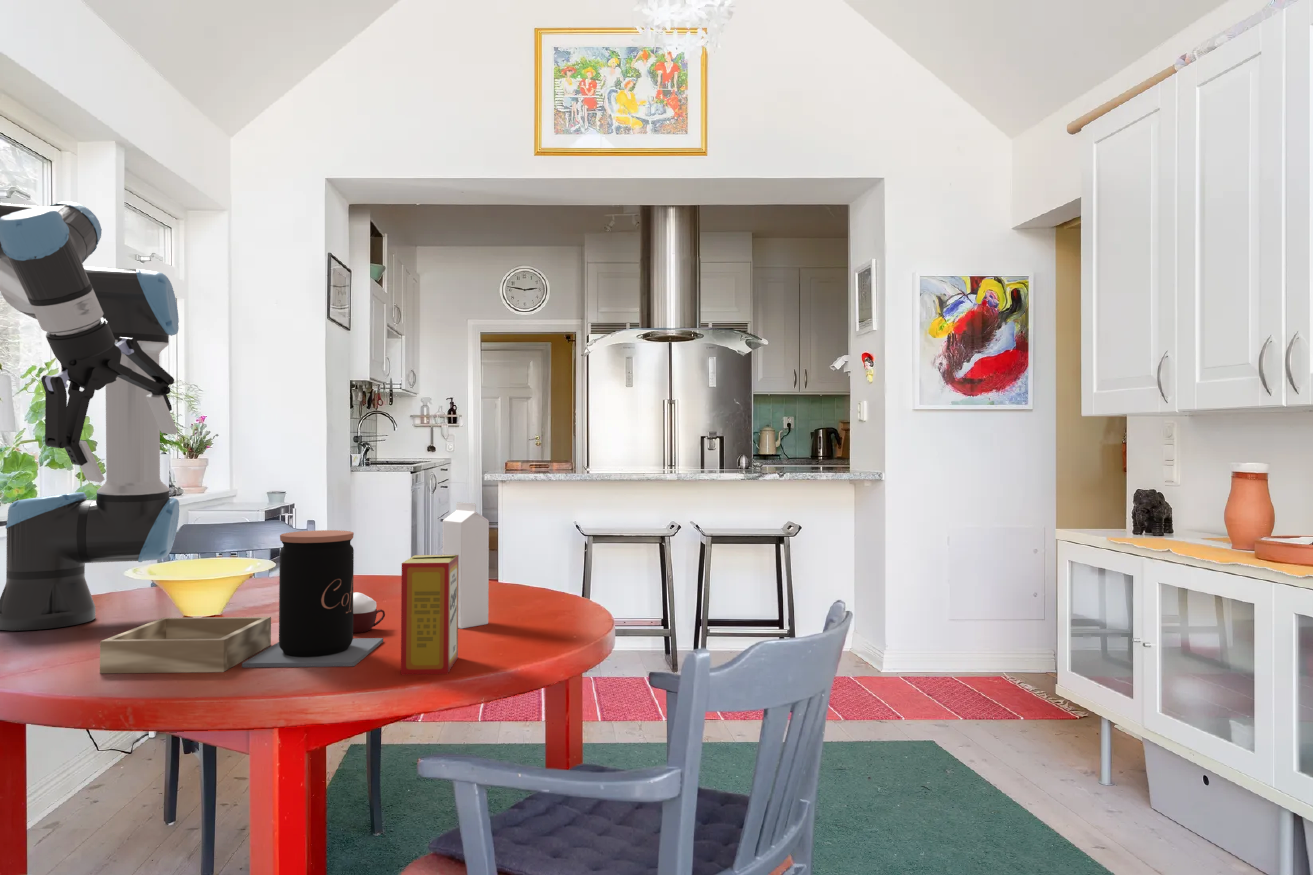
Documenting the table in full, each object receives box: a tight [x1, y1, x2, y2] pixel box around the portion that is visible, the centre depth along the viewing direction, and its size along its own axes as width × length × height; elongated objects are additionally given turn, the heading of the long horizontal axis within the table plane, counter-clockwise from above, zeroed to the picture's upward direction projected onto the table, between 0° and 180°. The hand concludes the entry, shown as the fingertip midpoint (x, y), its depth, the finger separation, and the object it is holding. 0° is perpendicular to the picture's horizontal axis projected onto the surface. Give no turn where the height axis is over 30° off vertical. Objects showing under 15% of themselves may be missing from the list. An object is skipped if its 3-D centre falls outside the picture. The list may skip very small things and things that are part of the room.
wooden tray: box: [99, 616, 272, 674], centre depth 130 cm, size 17×17×4 cm
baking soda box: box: [400, 554, 459, 676], centre depth 126 cm, size 10×6×16 cm
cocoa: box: [353, 592, 386, 634], centre depth 150 cm, size 10×6×12 cm, turn 94°
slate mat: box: [241, 637, 384, 668], centre depth 133 cm, size 16×16×1 cm
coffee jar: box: [278, 529, 355, 657], centre depth 133 cm, size 11×11×18 cm
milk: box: [442, 501, 490, 629], centre depth 156 cm, size 6×6×22 cm
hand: (134, 455), depth 129 cm, fingers open, 13 cm apart
